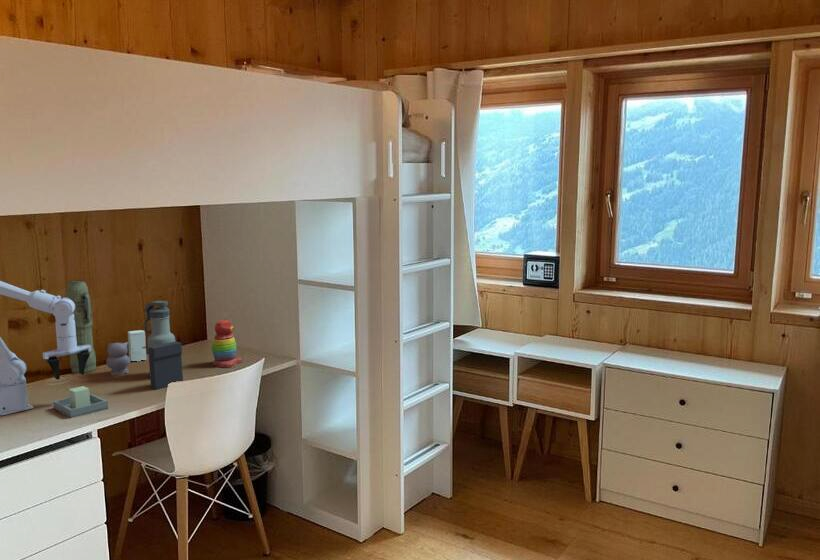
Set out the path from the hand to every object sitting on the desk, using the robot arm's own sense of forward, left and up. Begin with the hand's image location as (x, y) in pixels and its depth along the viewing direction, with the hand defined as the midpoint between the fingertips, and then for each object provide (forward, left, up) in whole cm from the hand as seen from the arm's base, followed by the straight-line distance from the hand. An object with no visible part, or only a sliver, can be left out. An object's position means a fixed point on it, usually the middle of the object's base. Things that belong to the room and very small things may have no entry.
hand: (69, 376), depth 226 cm
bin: (0, -7, -9) cm, 12 cm away
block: (0, -7, -9) cm, 11 cm away
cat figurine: (+27, +24, -10) cm, 37 cm away
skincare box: (+41, +37, -10) cm, 56 cm away
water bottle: (+37, +9, -10) cm, 39 cm away
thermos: (+20, +39, -10) cm, 44 cm away
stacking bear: (+61, +4, -10) cm, 62 cm away
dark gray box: (+31, -5, -10) cm, 33 cm away
